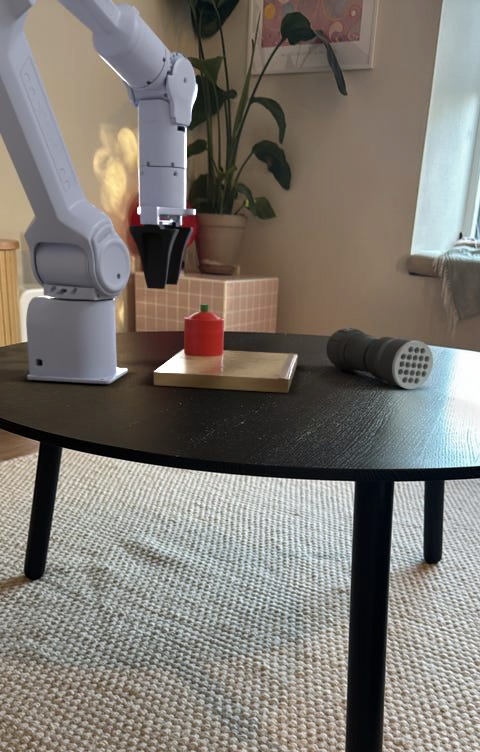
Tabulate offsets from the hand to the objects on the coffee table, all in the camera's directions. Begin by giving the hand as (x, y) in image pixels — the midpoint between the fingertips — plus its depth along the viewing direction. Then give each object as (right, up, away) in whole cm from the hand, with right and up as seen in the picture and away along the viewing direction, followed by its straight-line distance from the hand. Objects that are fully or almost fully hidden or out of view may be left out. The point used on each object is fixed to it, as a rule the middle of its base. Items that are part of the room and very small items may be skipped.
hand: (162, 286), depth 96 cm
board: (+9, -12, -4) cm, 15 cm away
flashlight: (+26, -12, -3) cm, 29 cm away
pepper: (+5, -8, +1) cm, 10 cm away
